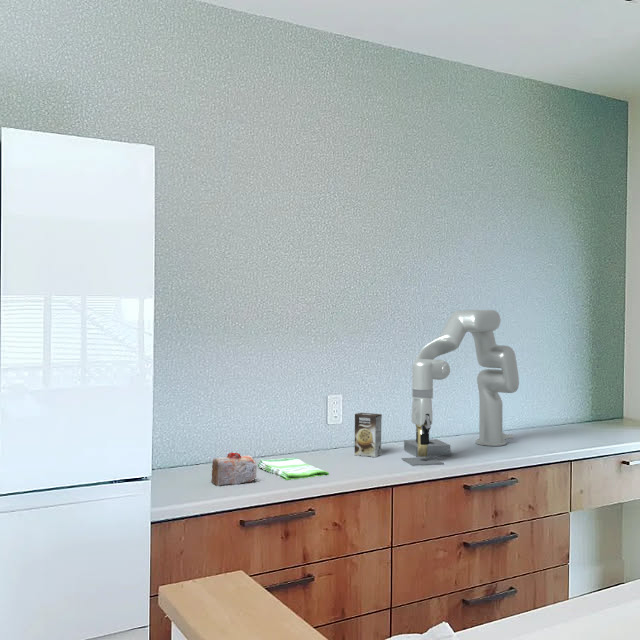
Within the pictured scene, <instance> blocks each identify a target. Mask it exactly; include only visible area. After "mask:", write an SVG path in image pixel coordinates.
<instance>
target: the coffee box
mask: <svg viewBox="0 0 640 640" xmlns="http://www.w3.org/2000/svg"><path fill="white" fill-rule="evenodd" d="M382 418H383V417H382V413H368V412H358V413H355V414H354V456H358V455H361V457H367V456H371V458H377V457H379V456H378V455H380V456H381V455H382ZM376 456H377V457H376Z"/></svg>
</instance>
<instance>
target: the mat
mask: <svg viewBox="0 0 640 640" xmlns="http://www.w3.org/2000/svg"><path fill="white" fill-rule="evenodd" d="M402 459H403V460H402ZM401 460H402V461H404V460H405V461H406V463H407V462H408V464H409V463H410V464H409V465H411V466H412V465H421V466H434V465H435V466H436V465H445V463H444V462H443V461H441V460H439V459H437V458H435V457H434V456H429V457H415V456H413V457H402V458H401ZM405 461H404V462H405Z"/></svg>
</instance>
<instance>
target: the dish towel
mask: <svg viewBox="0 0 640 640" xmlns="http://www.w3.org/2000/svg"><path fill="white" fill-rule="evenodd" d="M259 467H260V468H259ZM257 468H259V469H261V468H262V469H263V470H262V469H261V470H262V471H265V470H266V471H267V472H266V471H265V472H266V473H269V472H270V473H269V474H271V473H272V474H271V475H273V474H275V475H276V476H275V475H274V476H275V477H277V476H278V478H279V477H282V478H283V479H282V478H281V479H282V480H284V479H285V480H284V481H292V480H291V479H294V480H300V478H302V479H309V478H308V477H310V478H316V477H315V476H318V477H324V476H323V475H326V476H329V475H330V473H329V471H325V470H324V469H320V468H319V467H315V466H313V465H312V464H308V463H307V462H305V461H303V460H301V459H300V458H298V457H288V458H287V457H283V458H272V459H263V458H262V459H260V460H259V462H258V463H257Z"/></svg>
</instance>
